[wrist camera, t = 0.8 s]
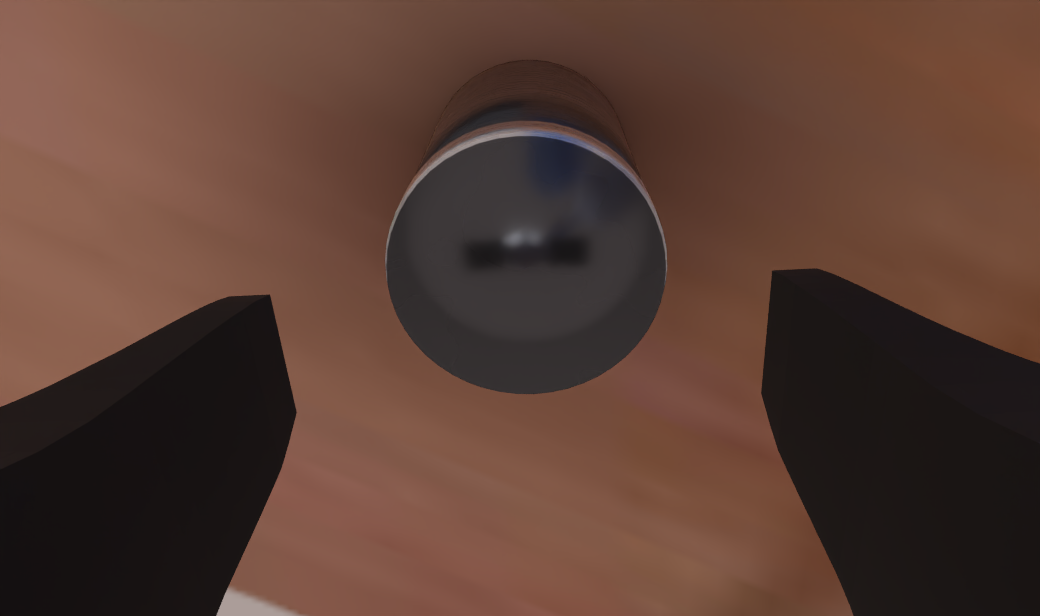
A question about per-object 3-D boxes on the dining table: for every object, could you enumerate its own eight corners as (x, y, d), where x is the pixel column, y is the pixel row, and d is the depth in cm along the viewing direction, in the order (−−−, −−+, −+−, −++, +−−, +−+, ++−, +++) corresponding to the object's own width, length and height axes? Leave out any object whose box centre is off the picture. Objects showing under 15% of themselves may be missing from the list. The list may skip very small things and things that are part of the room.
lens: (626, 51, 19) (671, 126, 13) (627, 244, 21) (665, 390, 15) (420, 64, 19) (363, 145, 13) (442, 254, 21) (403, 401, 15)
